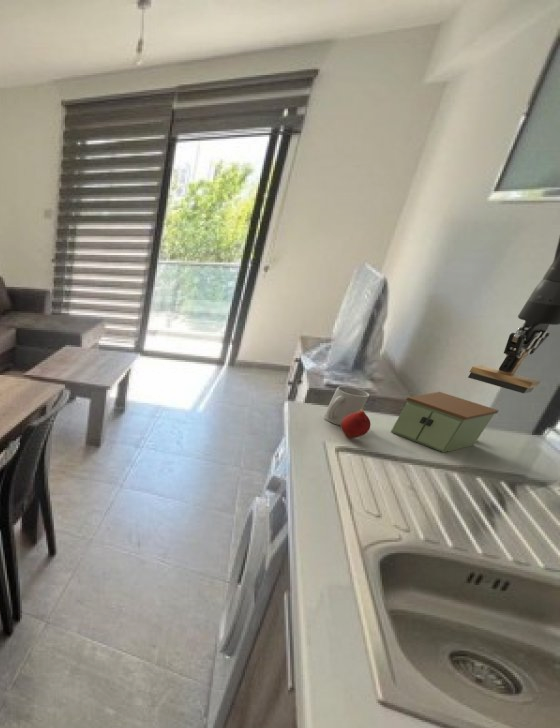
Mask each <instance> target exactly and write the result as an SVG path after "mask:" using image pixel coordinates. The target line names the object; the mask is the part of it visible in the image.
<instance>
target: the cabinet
mask: <svg viewBox="0 0 560 728" xmlns="http://www.w3.org/2000/svg"><path fill="white" fill-rule="evenodd" d="M405 400H406V403H405V405H404V407H403V409H402V410H401V413H400V414H399V415H398V417H397V419H396V421H395V423H394V424H393V426H392V429H391V430H390V433H392V434H395V435H397V436H400V437H403V438H406V439H408V440H410V441H412V442H415V443H418V444H420V445H423V446H425V447H428V448H430V447H431V448H430V449H433V448H434V449H433V450H435V449H436V450H435V451H438V450H439V451H438V452H440V451H442V452H441V453H443V452H444V453H448V452H451V451H456V450H459V449H463V448H468V447H472V446H474V445H476V443H477V441H478V439H479V438H480V436H481V435H482V433H483V432H484V430H485V429H486V427H487V426H488V424H489V423H490V421H491V419H492V418H493V417H494V415H496V414H498V413H499V409H495V408H492V407H489V406H486V405H483V404H480V403H477V402H473V401H470V400H467V399H464V398H461V397H458V396H454V395H451V394H448V393H445V392H442V391H436V392H435V391H434V392H431V393H424V394H418V395H413V396H408V397H406V399H405ZM447 451H448V452H447Z"/></svg>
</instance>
